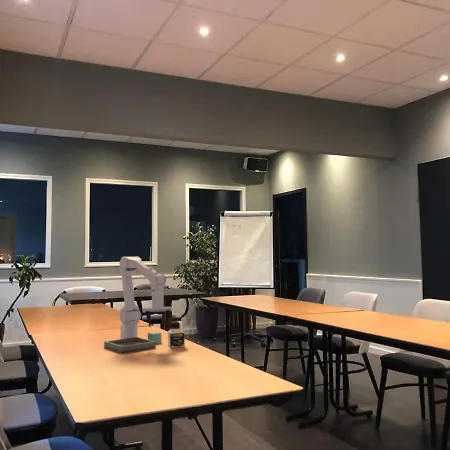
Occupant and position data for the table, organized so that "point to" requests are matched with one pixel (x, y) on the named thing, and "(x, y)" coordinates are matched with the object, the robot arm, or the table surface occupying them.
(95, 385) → the table surface
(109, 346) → the charcoal tray
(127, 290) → the robot arm
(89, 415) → the table surface
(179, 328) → the medicine bottle
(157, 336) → the teal block
